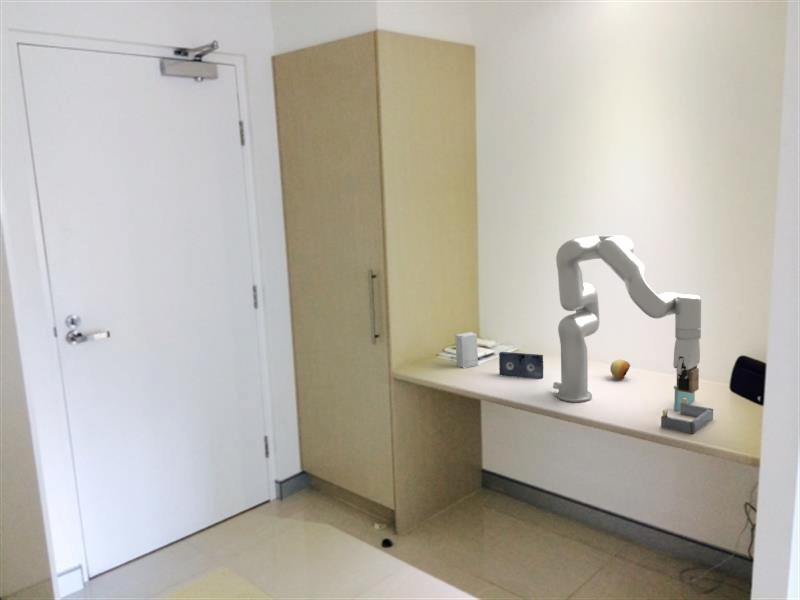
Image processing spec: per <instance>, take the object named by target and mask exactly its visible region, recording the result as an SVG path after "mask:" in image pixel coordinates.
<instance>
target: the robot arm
mask: <svg viewBox="0 0 800 600" xmlns="http://www.w3.org/2000/svg"><path fill="white" fill-rule="evenodd" d="M634 248H635V246H634V243H633V241H632V240H631V239H630V238H629V237H627V236H624V235H589V236H582V237H576V238H572V239H570V240H567V241H566V242H564V243H563V244H562V245H560V247H559V248H558V250H557V252H556V257H555V261H556V268H557V276H558V277H557V278H558V291H559V302H560V306H561V307H562V309H563V310H565V311H567V312H574V311H575V312H574V313H571V314H568V315H566V316H564V317H563V318H562V319H561V320H559V321H560V322H559V324H558V326H557V332H558V337H559V344H560V371H561V372H560V374H561V375H560V377H561V379H560V381H561V382H558V381H554V382H553V386H552V388H553V389H556V390H558V392H557V393H556V397H557V398H558V399H559V400H561V401H565V402H570V403H571V402H572V403H581V402H587V401H590V400H591V399H592V398H593V395H592V393H591V392H590V391H589V390H588V387H589V386H588V380H589V379H588V377H589V376H588V374H589V373H588V367H589V366H588V347H587V344H586V341H585V338H586V337H589V336H592V335H594V334H595V333H596V332H597V331H598V330H599V328H600V327H599V326H600V311H599V310H600V309H599V297H598V295H599V294H598V293H597V290H596V288H595V287H594V285H592V284H591V283H590V282H585V281H583V272H582V268H581V266H580V264H579V263H580V262H585V261H591V260H597V259H601V260H602V261H603V262H604V263H605V264H606V265H607V267H609V268H610V269H611V270H612V271H613V272H614V273H615V275H617V277H618V278H620V279H621V280H622V281H623V282H624V284H625V289H626V291H627V292H628V295H629V297H630V299H631V300H632V302H633V303H634V304H635V305H636V306H637V307H638V308H639V309H640V311H642V312H643V313H644V314H645V315H647V316H648V317H649V318H652V319H656V320H657V319H662V318H664V317H667V316H671V315H674V317H675V319H674V321H675V322H674V323H675V324H674V325H675V326H674V328H675V329H674V334H675V335H674V337H675V343H674V349H673V351H674V352H673V363H672V364H673V365H672V366H673V368H674V369H676V374H677V373H678V378H679V385H678V388H679V389H680V390H685V391H688V390H689V378H688V374H689V369H691V368H693V367H697V368H698V365H699V363H700V360H701V358H700V357H701V351H700V349H701V347H700V339H701V337H702V299H701V297H700V296H699V295H698V294H687V293H685V294H682V293H678V292H673V291H664V292H662V293H656V292H655V291H654V290H653V289H652V288H651V287H650V286H649V285H648V283H647V282H646V280H645V276H644V274H645V273H644V272H645V268H646V267H645V264H644V263H643V262H642V261H641V260H640V259H638V258H637V257H636V256H635V255H634ZM683 367H686V368H685V369H683ZM683 370H684V371H686V373H685V372H683Z"/></svg>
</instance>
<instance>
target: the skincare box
mask: <svg viewBox="0 0 800 600" xmlns="http://www.w3.org/2000/svg"><path fill="white" fill-rule="evenodd" d="M455 353H456V366H457V365H459V366H461V367H467V368H470V367H471V366H472V367H476V366H479V354H478V334H476V333H474V332H473V331H468V332H467V331H466V332H464V333H458V334H455ZM459 366H458V367H459ZM461 367H460V368H461Z"/></svg>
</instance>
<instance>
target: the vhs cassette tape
mask: <svg viewBox="0 0 800 600" xmlns="http://www.w3.org/2000/svg"><path fill="white" fill-rule="evenodd" d="M498 355H499V356H498V357H499V358H498V359H499V360H498V361H499V362H498V365H499V372H498V373H499V376H500V375H502V376H501V377H513V378H526V379H538V380H542V379H543V378H544V355H543V354H533V353H523V352H507V351H499V353H498Z"/></svg>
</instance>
